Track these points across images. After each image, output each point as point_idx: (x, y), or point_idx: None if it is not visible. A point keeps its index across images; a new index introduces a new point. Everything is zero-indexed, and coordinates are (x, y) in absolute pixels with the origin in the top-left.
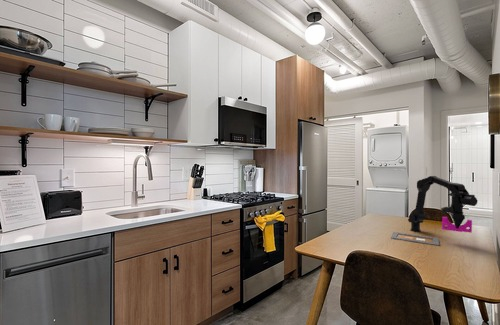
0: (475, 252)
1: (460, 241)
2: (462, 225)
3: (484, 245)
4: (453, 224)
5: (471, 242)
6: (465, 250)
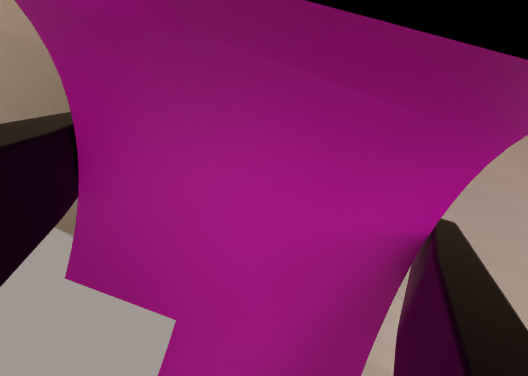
0: (25, 111)
1: (515, 150)
2: (226, 348)
3: (383, 336)
4: (425, 196)
5: (494, 275)
6: (29, 29)
